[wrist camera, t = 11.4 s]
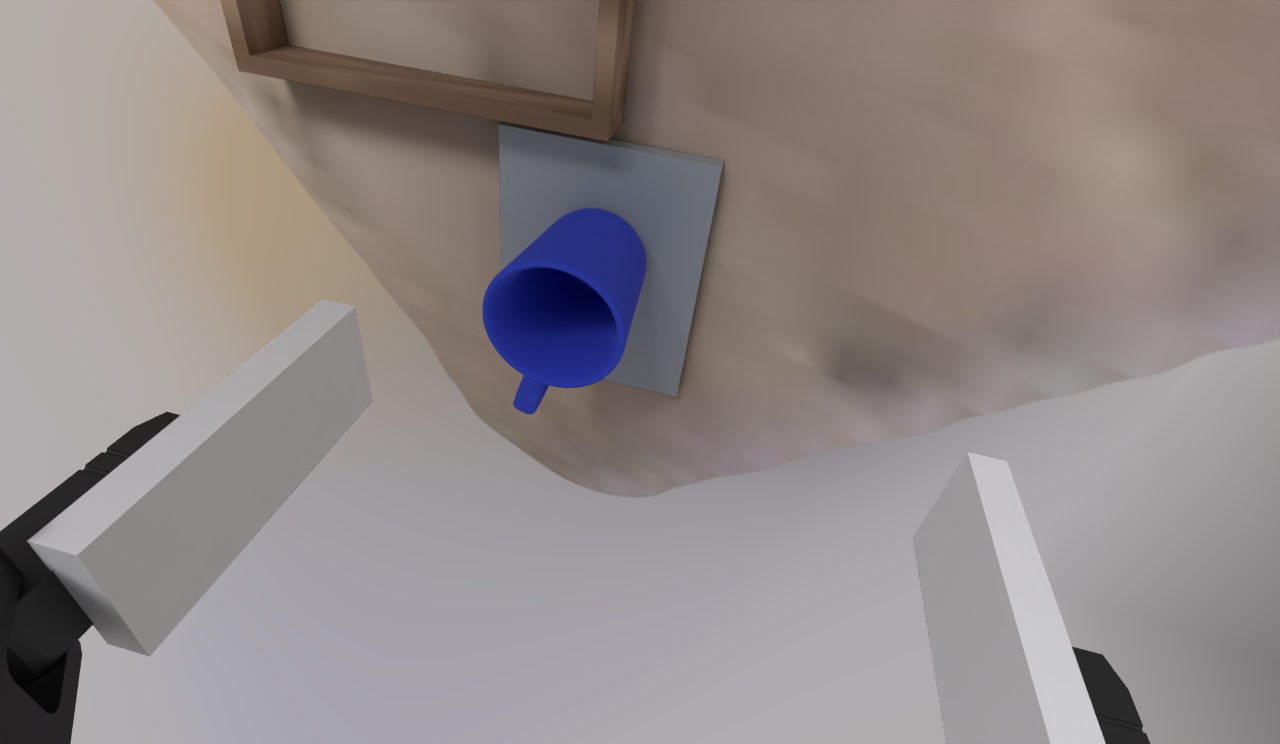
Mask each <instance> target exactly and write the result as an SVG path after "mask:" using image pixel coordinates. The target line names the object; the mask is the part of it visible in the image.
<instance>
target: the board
mask: <svg viewBox="0 0 1280 744" xmlns="http://www.w3.org/2000/svg"><path fill="white" fill-rule="evenodd" d="M498 130H499V173H500V217H501V260H502V270H503V269H504V268H505V267H506V266H507V265H508V264H509V263H510V262H512V261H513V260H514V259H515V258H516V257H517V256H518V255H519V254H520V253H521V252H523V251H524V250H525V249H526V248H527V247H528V246H529V245H530V244H531V243H532V242H534V241H535V240H536V239H537V238H538V237H539V236H540V235H541V234H542V233H543V232H545V231H546V230H547V229H548V228H549V227H550V226H551V225H552V224H553V223H555V222H556V221H557V220H558V219H559V218H561V217H562V216H564V215H566V214H568V213H570V212H573V211H575V210H579V209H585V208H596V209H602V210H606V211H609V212H611V213H614V214H616V215H618V216H619V217H621V218H622V219H624V220H625V221H626V222H627V223H628V224H629V225H631V226H632V228H633V229H634V230H635V231H636V233H637V234H638V236H639V238H640V240H641V242H642V244H643V247H644V251H645V256H646V272H645V277H644V281H643V285H642V288H641V292H640V295H639V299H638V302H637V306H636V310H635V313H634V317H633V320H632V324H631V328H630V331H629V335H628V338H627V342H626V346H625V349H624V353H623V355H622V358H621V360H620V361H619V363H618V365H617V366H616V367H615V369H614V370H613V371H612V372H611V373H610V374H609V375H607V376H606V377H605V378H603V379H602V380H605V381H610V382H614V383H618V384H623V385H627V386H631V387H636V388H640V389H644V390H649V391H653V392H657V393H662V394H666V395H670V396H675V397H677V393H678V389H679V385H680V380H681V375H682V370H683V365H684V360H685V355H686V350H687V345H688V340H689V335H690V330H691V325H692V320H693V315H694V310H695V305H696V300H697V295H698V290H699V285H700V280H701V275H702V270H703V265H704V260H705V255H706V250H707V245H708V240H709V235H710V230H711V225H712V220H713V215H714V210H715V205H716V200H717V195H718V190H719V185H720V180H721V175H722V170H723V165H724V161H723V160H718V159H713V158H708V157H702V156H697V155H692V154H687V153H681V152H676V151H671V150H666V149H660V148H655V147H650V146H645V145H639V144H634V143H629V142H624V141H619V140H613V139H610V140H609V141H603V140H598V139H593V138H587V137H582V136H577V135H572V134H566V133H561V132H556V131H551V130H546V129H540V128H535V127H530V126H525V125H519V124H514V123H509V122H504V121H502V122H501V123H499V124H498Z"/></svg>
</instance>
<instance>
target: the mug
mask: <svg viewBox="0 0 1280 744" xmlns="http://www.w3.org/2000/svg"><path fill="white" fill-rule="evenodd" d="M645 272H646V256H645V251H644V247H643V244H642V242H641V240H640V238H639V236H638V234H637V233H636V231H635V230H634V229H633V228H632V226H631V225H629V224H628V223H627V222H626V221H625V220H624V219H622V218H621V217H619V216H618V215H616V214H614V213H611V212H609V211H606V210H602V209H596V208H585V209H579V210H575V211H573V212H570V213H568V214H566V215H564V216H562V217H561V218H559V219H558V220H557V221H556V222H555V223H553V224H552V225H551V226H550V227H549V228H548V229H547V230H546V231H545V232H543V233H542V234H541V235H540V236H539V237H538V238H537V239H536V240H535V241H534V242H532V243H531V244H530V245H529V246H528V247H527V248H526V249H525V250H524V251H523V252H521V253H520V254H519V255H518V256H517V257H516V258H515V259H514V260H513V261H512V262H510V263H509V264H508V265H507V266H506V267H505V268H504V269H503V270H502V271H501V272H500V273H498V274H497V275H496V276H495V278H494V279H493V280H492V281H491V283H490V285H489V286H488V288H487V290H486V293H485V296H484V301H483V321H484V325H485V329H486V332H487V334H488V336H489V339H490V341H491V342H492V344H493V346H494V347H495V349H496V350H497V351H498V353H499V354H500V355H501V356H502V357H503V359H504V360H505V361H506V362H507V363H508V364H510V365H511V366H512V367H513V368H514V369H516V370H517V371H518V372H520V373H522V374H523V375H524V376H523V379H522V381H521V383H520V386H519V388H518V391H517V394H516V396H515V400H514V406H515V408H516V409H518V410H520V411H522V412H524V413H527V414H533V413H535V411H536V410H537V408H538V406H539V404H540V402H541V400H542V398H543V396H544V394H545V392H546V390H547V388H548V386H549V385H550V386H555V387H562V388H577V387H583V386H587V385H591V384H593V383H596V382H598V381H600V380H602V379H603V378H605V377H606V376H607V375H609V374H610V373H611V372H612V371H613V370H614V369H615V367H616V366H617V365H618V363H619V361H620V360H621V358H622V355H623V353H624V349H625V346H626V342H627V338H628V335H629V331H630V328H631V324H632V320H633V317H634V313H635V310H636V306H637V302H638V299H639V295H640V292H641V288H642V285H643V281H644V277H645Z"/></svg>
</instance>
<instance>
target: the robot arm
mask: <svg viewBox="0 0 1280 744" xmlns="http://www.w3.org/2000/svg"><path fill="white" fill-rule="evenodd" d="M371 402H372V395H371V391H370V385H369V379H368V374H367V368H366V363H365V357H364V352H363V347H362V341H361V336H360V331H359V325H358V320H357V314H356V309H355V307H354V306H351V305H346V304H342V303H337V302H334V301H329V300H325V299H322V300H321V301H319V302H318V303H317V304H316V305H315V306H313V307H312V308H311V309H310V310H309V311H307V312H306V313H305V314H304V315H302V316H301V317H300V318H299V319H297V320H296V321H295V322H294V323H293V324H291V325H290V326H289V327H288V328H286V329H285V330H284V331H283V332H282V333H280V334H279V335H278V336H277V337H276V338H274V339H273V340H272V341H271V342H269V343H268V344H267V345H266V346H264V347H263V348H262V349H261V350H260V351H258V352H257V353H256V354H255V355H253V356H252V357H251V358H250V359H249V360H247V361H246V362H245V363H244V364H243V365H241V366H240V367H239V368H238V369H237V370H235V371H234V372H233V373H232V374H230V375H229V376H228V377H227V378H225V379H224V380H223V381H222V382H221V383H219V384H218V385H217V386H216V387H214V388H213V389H212V390H211V391H210V392H208V393H207V394H206V395H205V396H203V397H202V398H201V399H200V400H199V401H197V402H196V403H195V404H194V405H193V406H191V407H190V408H189V409H188V410H186V411H185V412H184V413H183V414H181V415H178V414H174V413H170V412H165V413H164V414H161V415H159V416H157V417H155V418H153V419H151V420H148V421H146V422H144V423H142V424H140V425H138V426H135V427H134V428H132V429H131V430H130V431H128V432H127V433H126V434H125V435H123V436H122V437H121V438H120V439H118V440H117V441H116V442H115V443H113V444H112V445H110V446H109V447H108V448H107V451H106V452H105V453H103V452H102V453H100V454H99V455H98V456H96V457H95V458H94V459H92V460H91V461H90V462H89V463H87V464H86V466H85V469H84V470H78V471H77V472H76V473H75V474H73V475H72V476H71V477H69V478H68V479H67V480H66V481H64V482H63V483H62V484H61V485H59V486H58V487H57V488H55V489H54V490H53V491H52V492H50V493H49V494H48V495H46V496H45V497H44V498H43V499H41V500H40V501H39V502H37V503H36V504H35V505H34V506H32V507H31V508H30V509H28V510H27V511H26V512H25V513H23V514H22V515H21V516H20V517H18V518H17V519H16V520H14V521H13V522H12V523H10V524H9V525H8V526H7V527H5V528H4V529H3V530H1V531H0V744H70V742H71V735H72V727H73V720H74V712H75V704H76V697H77V689H78V682H79V674H80V667H81V659H82V651H81V645H80V642H79V640H78V639H79V638H80V637H81V636H82V635H83V634H84V633H85V632H86V631H87V630H88V629H89V628H90V627H91V626H92V625H93V626H94V627H95V628H96V629H97V631H98V632H99V633H100V634H101V636H102V637H103V638H104V640H105V641H106V642H107V643H108V644H111V645H114V646H117V647H121V648H124V649H127V650H130V651H134V652H137V653H141V654H144V655H147V656H150V655H151V654H152V653H153V652H154V651H155V650H156V648H157V647H158V646H159V645H160V644H161V643H162V641H164V639H165V638H166V637H167V636H168V635H169V634H170V633H171V631H172V630H173V629H174V628H175V627H176V626H177V625H178V623H179V622H180V621H181V620H182V619H183V618H184V617H185V615H186V614H187V613H188V612H189V611H190V610H191V609H192V607H193V606H194V605H195V604H196V603H197V602H198V601H199V599H200V598H201V597H202V596H203V595H204V594H205V592H206V591H207V590H208V589H209V588H210V587H211V586H212V584H213V583H214V582H215V581H216V580H217V579H218V578H219V576H220V575H221V574H222V573H223V572H224V571H225V570H226V568H227V567H228V566H229V565H230V564H231V563H232V561H233V560H234V559H235V558H236V557H237V556H238V555H239V553H240V552H241V551H242V550H243V549H244V548H245V547H246V546H247V544H248V543H249V542H250V541H251V540H252V539H253V537H254V536H255V535H256V534H257V533H258V532H259V531H260V529H261V528H262V527H263V526H264V525H265V524H266V523H267V521H268V520H269V519H270V518H271V517H272V516H273V515H274V513H275V512H276V511H277V510H278V509H279V508H280V507H281V505H282V504H283V503H284V502H285V501H286V500H287V499H288V497H289V496H290V495H291V494H292V493H293V491H294V490H295V489H296V488H297V487H298V486H299V485H300V484H301V483H302V481H303V480H304V479H305V478H306V477H307V476H308V474H309V473H310V472H311V471H312V470H313V469H314V467H315V466H316V465H317V464H318V463H319V462H320V461H321V459H322V458H323V457H324V456H325V455H326V454H327V453H328V452H329V450H330V449H331V448H332V447H333V446H334V445H335V444H336V442H337V441H338V440H339V439H340V438H341V437H342V436H343V434H344V433H345V432H346V431H347V430H348V429H349V428H350V426H351V425H352V424H353V423H354V422H355V421H356V420H357V418H358V417H359V416H360V415H361V414H362V413H363V411H364V410H365V409H366V408H367V407H368V406H369V405H370V403H371ZM913 541H914V547H915V554H916V560H917V566H918V572H919V578H920V585H921V591H922V597H923V603H924V610H925V616H926V622H927V629H928V635H929V641H930V647H931V653H932V660H933V666H934V672H935V678H936V685H937V691H938V697H939V702H940V710H941V716H942V722H943V728H944V735H945V740H946V744H1150V742H1149V740H1148V737H1147V735H1146V733H1143V731H1142V727H1143V725H1142V722H1141V720H1140V717H1139V715H1138V712H1137V710H1136V707H1135V705H1134V702H1133V700H1132V698H1131V695H1130V692H1129V690H1128V689H1127V687H1126V686H1125V684H1124V683H1123V682H1122V680H1121V679H1120V678H1119V676H1118V675H1117V674H1116V672H1115V671H1114V670H1113V668H1112V667H1111V665H1110V664H1109V663H1108V661H1107V660H1106V659H1105V657H1104V656H1103V655H1102V654H1098V653H1094V652H1090V651H1087V650H1083V649H1078V648H1075V647H1072V646H1071V644H1070V640H1069V637H1068V635H1067V632H1066V629H1065V626H1064V623H1063V620H1062V617H1061V615H1060V612H1059V609H1058V606H1057V603H1056V600H1055V597H1054V595H1053V592H1052V589H1051V586H1050V583H1049V580H1048V577H1047V575H1046V572H1045V569H1044V566H1043V563H1042V560H1041V557H1040V554H1039V552H1038V549H1037V546H1036V543H1035V540H1034V537H1033V534H1032V532H1031V529H1030V526H1029V523H1028V520H1027V517H1026V514H1025V511H1024V509H1023V506H1022V503H1021V500H1020V497H1019V494H1018V491H1017V489H1016V486H1015V483H1014V480H1013V477H1012V474H1011V471H1010V469H1009V466H1008V463H1007V461H1003V460H999V459H995V458H990V457H986V456H982V455H978V454H974V453H970V452H967V454H966V455H965V457H964V458H963V460H962V462H961V463H960V465H959V466H958V468H957V469H956V471H955V472H954V474H953V476H952V477H951V479H950V480H949V482H948V483H947V485H946V486H945V488H944V490H943V491H942V493H941V494H940V496H939V497H938V499H937V500H936V502H935V503H934V505H933V507H932V508H931V510H930V511H929V513H928V514H927V516H926V517H925V519H924V521H923V522H922V524H921V525H920V527H919V528H918V530H917V531H916V533H915V535H914V536H913Z"/></svg>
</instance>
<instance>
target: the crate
mask: <svg viewBox="0 0 1280 744" xmlns="http://www.w3.org/2000/svg"><path fill="white" fill-rule="evenodd" d="M221 4H222V8H223V12H224V16H225V19H226V23H227V27H228V31H229V35H230V39H231V43H232V47H233V50H234V54H235V58H236V62H237V66H238V70H239V71H242V72H248V73H253V74H258V75H263V76H269V77H274V78H279V79H284V80H289V81H295V82H300V83H305V84H310V85H316V86H321V87H326V88H331V89H337V90H342V91H347V92H352V93H357V94H363V95H368V96H373V97H378V98H384V99H389V100H394V101H399V102H404V103H410V104H415V105H420V106H425V107H431V108H436V109H441V110H446V111H451V112H457V113H462V114H467V115H472V116H478V117H483V118H488V119H493V120H499V121H504V122H509V123H514V124H519V125H525V126H530V127H535V128H540V129H546V130H551V131H556V132H561V133H566V134H572V135H577V136H582V137H587V138H593V139H598V140H603V141H609V140H610V138H611V137H612V136H613V135H614V134H615V133H616V131H617V130H618V129H619V128H620V127H621V126H622V124H623V114H624V104H625V93H626V83H627V72H628V62H629V51H630V41H631V30H632V20H633V10H634V0H600V8H599V23H598V38H597V53H596V68H595V83H594V98H593V101H587V100H582V99H577V98H571V97H566V96H560V95H555V94H550V93H544V92H539V91H533V90H528V89H523V88H517V87H512V86H506V85H501V84H496V83H490V82H485V81H479V80H474V79H469V78H463V77H458V76H452V75H447V74H442V73H436V72H431V71H425V70H420V69H415V68H409V67H404V66H398V65H393V64H388V63H382V62H377V61H371V60H366V59H361V58H355V57H350V56H344V55H339V54H334V53H328V52H323V51H317V50H312V49H307V48H301V47H296V46H290V45H288V42H287V37H286V32H285V27H284V23H283V18H282V13H281V8H280V3H279V0H221Z"/></svg>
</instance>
